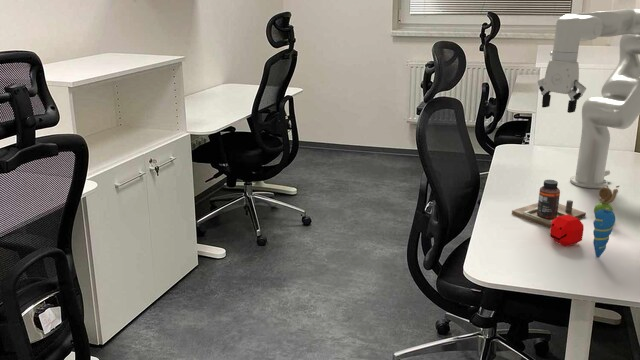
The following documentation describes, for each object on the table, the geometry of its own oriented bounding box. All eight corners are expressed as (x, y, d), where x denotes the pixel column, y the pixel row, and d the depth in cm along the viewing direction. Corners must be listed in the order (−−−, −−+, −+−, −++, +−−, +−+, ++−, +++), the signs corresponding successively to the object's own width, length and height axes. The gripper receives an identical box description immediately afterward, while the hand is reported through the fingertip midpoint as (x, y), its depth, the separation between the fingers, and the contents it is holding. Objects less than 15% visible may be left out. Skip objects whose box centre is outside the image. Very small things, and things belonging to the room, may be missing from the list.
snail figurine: (606, 224, 188) (612, 187, 184) (588, 217, 193) (594, 181, 189) (618, 221, 190) (624, 184, 186) (600, 214, 195) (606, 178, 192)
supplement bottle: (555, 213, 193) (560, 179, 189) (558, 220, 187) (563, 185, 184) (535, 211, 194) (539, 177, 190) (537, 218, 188) (542, 183, 185)
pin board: (547, 203, 205) (549, 189, 203) (585, 216, 194) (587, 202, 192) (511, 213, 195) (513, 199, 194) (549, 228, 184) (551, 213, 183)
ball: (543, 239, 176) (547, 214, 174) (564, 235, 180) (568, 210, 177) (564, 250, 170) (568, 225, 167) (586, 245, 173) (590, 220, 170)
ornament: (584, 253, 168) (592, 202, 163) (602, 253, 168) (610, 201, 163) (593, 262, 163) (602, 209, 158) (612, 261, 163) (621, 208, 158)
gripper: (534, 54, 202) (528, 106, 207) (581, 60, 188) (574, 115, 194) (549, 53, 206) (543, 103, 211) (596, 59, 192) (588, 112, 197)
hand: (558, 109), depth 202 cm, fingers open, 9 cm apart
